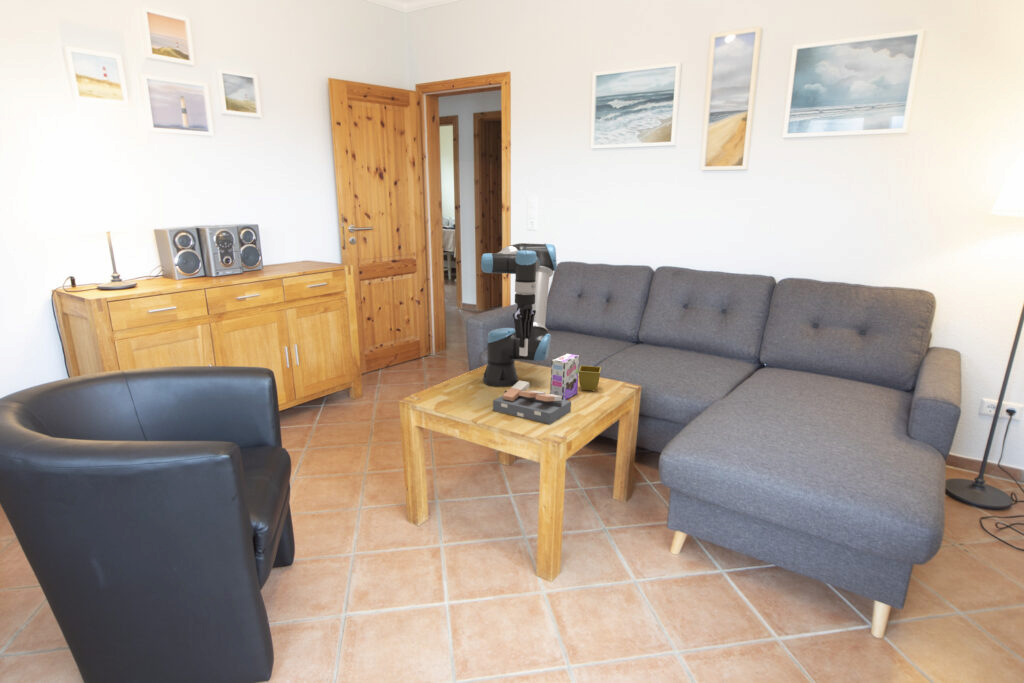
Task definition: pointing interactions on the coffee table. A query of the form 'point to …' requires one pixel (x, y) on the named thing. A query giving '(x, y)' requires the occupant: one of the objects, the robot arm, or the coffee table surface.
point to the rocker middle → (530, 393)
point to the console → (533, 408)
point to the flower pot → (589, 377)
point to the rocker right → (548, 397)
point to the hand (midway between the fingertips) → (523, 355)
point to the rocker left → (515, 390)
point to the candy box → (565, 376)
